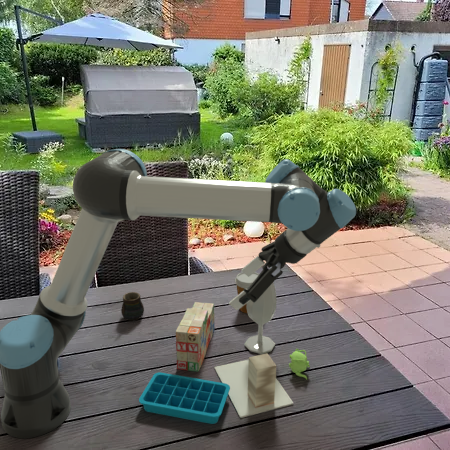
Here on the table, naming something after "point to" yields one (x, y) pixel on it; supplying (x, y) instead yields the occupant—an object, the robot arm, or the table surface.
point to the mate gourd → (132, 306)
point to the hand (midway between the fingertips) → (239, 289)
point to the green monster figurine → (299, 362)
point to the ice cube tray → (185, 397)
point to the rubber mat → (238, 390)
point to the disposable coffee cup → (244, 285)
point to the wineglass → (262, 320)
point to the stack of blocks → (194, 336)
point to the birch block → (261, 380)
